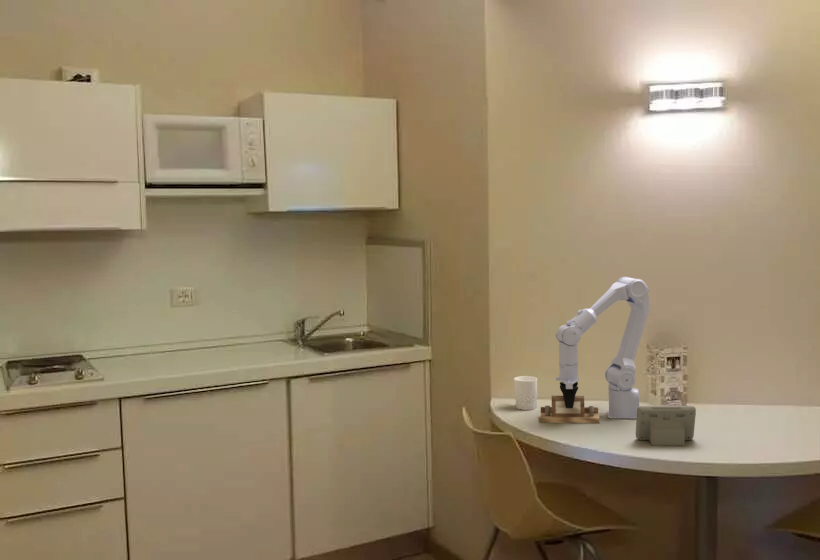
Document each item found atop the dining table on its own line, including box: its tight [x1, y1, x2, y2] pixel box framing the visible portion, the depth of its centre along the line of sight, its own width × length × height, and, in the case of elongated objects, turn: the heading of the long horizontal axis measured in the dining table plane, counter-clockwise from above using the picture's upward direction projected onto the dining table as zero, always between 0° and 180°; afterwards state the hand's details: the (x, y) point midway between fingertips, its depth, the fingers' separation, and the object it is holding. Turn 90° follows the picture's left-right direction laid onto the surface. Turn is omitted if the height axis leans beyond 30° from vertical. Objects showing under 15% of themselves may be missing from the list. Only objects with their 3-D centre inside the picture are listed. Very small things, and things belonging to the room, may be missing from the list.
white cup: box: [513, 375, 538, 411], centre depth 267 cm, size 8×8×10 cm
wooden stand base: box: [539, 405, 600, 424], centre depth 251 cm, size 18×7×4 cm, turn 80°
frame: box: [551, 395, 585, 417], centre depth 250 cm, size 10×3×6 cm, turn 80°
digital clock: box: [635, 405, 697, 446], centre depth 225 cm, size 16×9×11 cm, turn 71°
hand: (569, 406), depth 250 cm, fingers open, 3 cm apart
